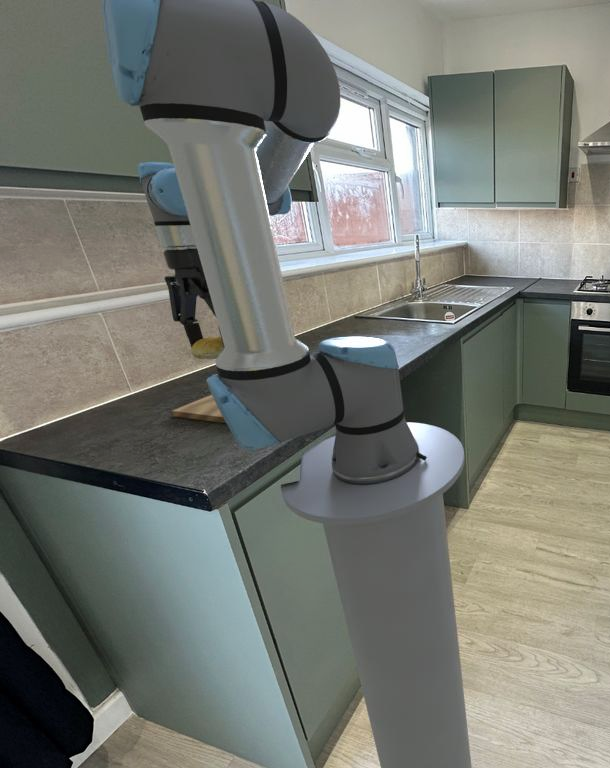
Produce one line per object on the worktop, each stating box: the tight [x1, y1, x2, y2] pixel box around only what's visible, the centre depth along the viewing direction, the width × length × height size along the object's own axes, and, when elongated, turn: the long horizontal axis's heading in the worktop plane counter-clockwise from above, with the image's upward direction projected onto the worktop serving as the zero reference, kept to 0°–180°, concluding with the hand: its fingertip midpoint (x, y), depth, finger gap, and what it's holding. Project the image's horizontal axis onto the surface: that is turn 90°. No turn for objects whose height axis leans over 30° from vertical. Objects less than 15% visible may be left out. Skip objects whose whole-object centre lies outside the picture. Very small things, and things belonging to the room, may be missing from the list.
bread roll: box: [190, 336, 224, 360], centre depth 92 cm, size 8×9×4 cm
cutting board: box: [171, 394, 227, 424], centre depth 99 cm, size 20×14×2 cm
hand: (216, 353), depth 93 cm, fingers closed on bread roll, 9 cm apart
